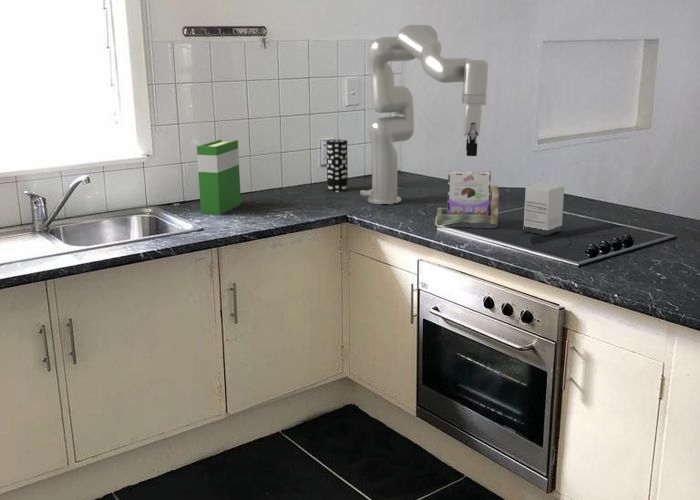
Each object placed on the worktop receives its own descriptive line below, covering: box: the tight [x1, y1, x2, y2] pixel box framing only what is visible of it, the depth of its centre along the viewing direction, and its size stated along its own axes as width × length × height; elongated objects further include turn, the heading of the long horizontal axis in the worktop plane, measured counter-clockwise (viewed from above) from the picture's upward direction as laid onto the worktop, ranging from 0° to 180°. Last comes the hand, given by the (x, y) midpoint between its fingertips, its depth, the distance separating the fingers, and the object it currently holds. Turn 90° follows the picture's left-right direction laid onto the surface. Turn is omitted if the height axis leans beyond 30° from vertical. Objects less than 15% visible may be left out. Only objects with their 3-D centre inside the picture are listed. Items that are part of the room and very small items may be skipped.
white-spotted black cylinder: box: [326, 139, 349, 193], centre depth 304 cm, size 8×8×20 cm
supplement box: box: [523, 182, 565, 231], centre depth 238 cm, size 9×9×15 cm
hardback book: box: [196, 139, 242, 216], centre depth 272 cm, size 18×7×24 cm, turn 163°
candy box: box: [447, 170, 492, 215], centre depth 249 cm, size 14×6×16 cm, turn 79°
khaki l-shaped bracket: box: [434, 184, 500, 226], centre depth 249 cm, size 20×12×12 cm, turn 82°
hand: (471, 153), depth 245 cm, fingers open, 9 cm apart
